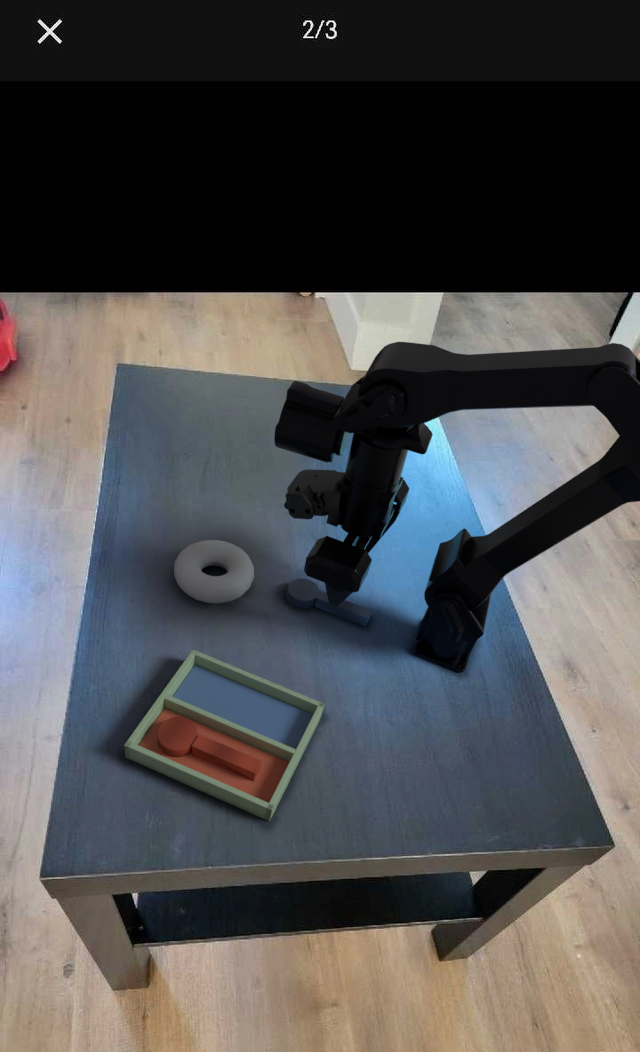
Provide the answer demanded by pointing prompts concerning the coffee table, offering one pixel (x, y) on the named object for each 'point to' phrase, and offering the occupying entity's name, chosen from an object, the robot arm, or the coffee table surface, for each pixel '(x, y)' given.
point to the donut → (214, 586)
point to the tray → (230, 731)
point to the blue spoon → (324, 601)
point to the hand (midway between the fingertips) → (346, 580)
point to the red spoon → (203, 748)
